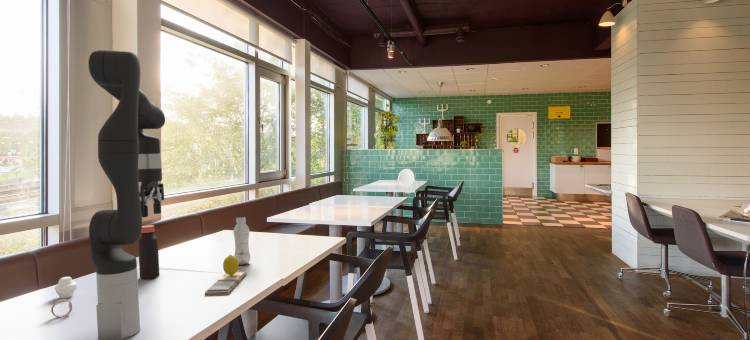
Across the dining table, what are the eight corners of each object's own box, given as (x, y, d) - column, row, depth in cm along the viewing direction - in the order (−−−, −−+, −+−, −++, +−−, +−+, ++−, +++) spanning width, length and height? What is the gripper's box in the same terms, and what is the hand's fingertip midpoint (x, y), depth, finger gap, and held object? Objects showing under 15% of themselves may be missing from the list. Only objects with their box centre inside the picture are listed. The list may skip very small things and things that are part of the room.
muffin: (51, 300, 138) (50, 280, 138) (60, 294, 144) (58, 274, 144) (73, 298, 140) (71, 278, 139) (80, 292, 146) (79, 273, 145)
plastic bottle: (233, 263, 179) (231, 217, 178) (249, 261, 182) (247, 216, 181) (235, 267, 173) (233, 219, 172) (251, 265, 176) (250, 218, 175)
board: (228, 294, 140) (228, 290, 140) (204, 295, 140) (204, 291, 139) (246, 275, 162) (246, 271, 162) (225, 275, 162) (225, 271, 161)
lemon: (234, 278, 153) (233, 256, 152) (220, 278, 154) (219, 256, 153) (241, 273, 158) (240, 253, 158) (228, 273, 159) (227, 252, 159)
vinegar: (135, 279, 160) (132, 227, 159) (149, 274, 167) (146, 224, 166) (150, 280, 158) (147, 228, 157) (163, 274, 165) (161, 224, 164)
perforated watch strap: (72, 315, 125) (71, 298, 125) (53, 320, 122) (51, 303, 121) (70, 313, 127) (69, 296, 127) (51, 317, 123) (49, 301, 123)
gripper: (149, 167, 133) (151, 218, 134) (170, 166, 147) (172, 212, 148) (125, 168, 133) (127, 218, 134) (148, 167, 147) (150, 212, 148)
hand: (151, 215), depth 141 cm, fingers open, 8 cm apart
